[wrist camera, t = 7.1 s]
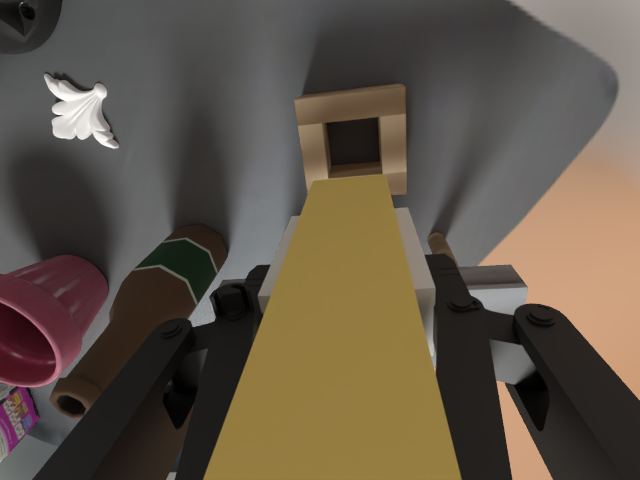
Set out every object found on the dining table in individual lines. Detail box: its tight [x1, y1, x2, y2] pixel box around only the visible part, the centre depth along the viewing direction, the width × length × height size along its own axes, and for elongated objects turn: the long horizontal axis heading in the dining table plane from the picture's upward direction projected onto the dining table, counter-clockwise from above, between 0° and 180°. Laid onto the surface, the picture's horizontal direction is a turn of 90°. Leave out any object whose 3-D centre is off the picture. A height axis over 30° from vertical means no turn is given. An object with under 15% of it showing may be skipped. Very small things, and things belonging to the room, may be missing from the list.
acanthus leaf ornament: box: [44, 74, 119, 148], centre depth 40 cm, size 8×7×2 cm
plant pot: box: [0, 255, 108, 387], centre depth 45 cm, size 14×14×13 cm
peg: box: [203, 174, 462, 480], centre depth 13 cm, size 4×4×16 cm
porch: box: [210, 83, 528, 367], centre depth 32 cm, size 19×22×19 cm
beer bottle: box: [49, 224, 228, 419], centre depth 36 cm, size 8×8×24 cm
